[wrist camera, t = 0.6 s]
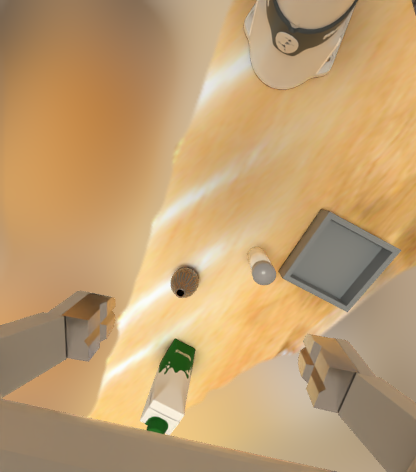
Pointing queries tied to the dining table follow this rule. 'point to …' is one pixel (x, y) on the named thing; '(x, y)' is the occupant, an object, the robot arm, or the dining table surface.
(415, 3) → the worn metal disc
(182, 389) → the milk carton
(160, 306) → the dining table surface
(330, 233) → the tray
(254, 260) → the shaker
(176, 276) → the vase
